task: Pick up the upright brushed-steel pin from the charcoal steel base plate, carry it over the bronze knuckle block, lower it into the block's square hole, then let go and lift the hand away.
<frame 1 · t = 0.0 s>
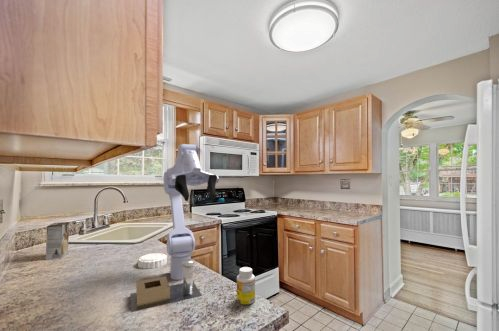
hand: (200, 198, 67), 32 cm above the countertop, tool tilted 50°, fingers open, 7 cm apart
steel pin: (187, 292, 76), point 1 cm above the countertop, touching clevis base
clevis base: (165, 297, 75), on the countertop
supplement bottle: (246, 304, 71), on the countertop
coffee box: (57, 257, 116), on the countertop
mooncake: (152, 264, 105), on the countertop
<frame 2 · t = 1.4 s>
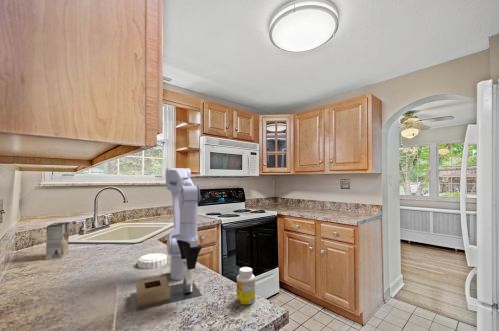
hand: (188, 264, 76), 10 cm above the countertop, tool pointing down, fingers open, 7 cm apart
steel pin: (187, 291, 76), point 1 cm above the countertop, tilted 15°, touching clevis base, gripper
everything else where it was.
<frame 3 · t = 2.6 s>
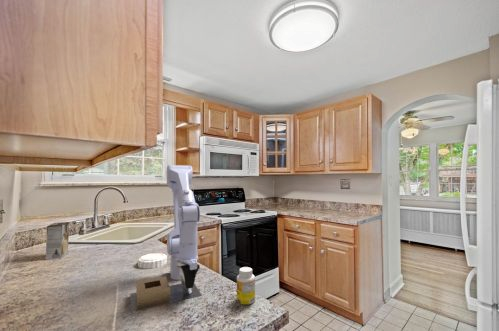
hand: (188, 285, 76), 3 cm above the countertop, tool pointing down, fingers closed on steel pin, 4 cm apart
steel pin: (187, 291, 76), point 1 cm above the countertop, tilted 10°, touching clevis base, gripper
everything else where it was.
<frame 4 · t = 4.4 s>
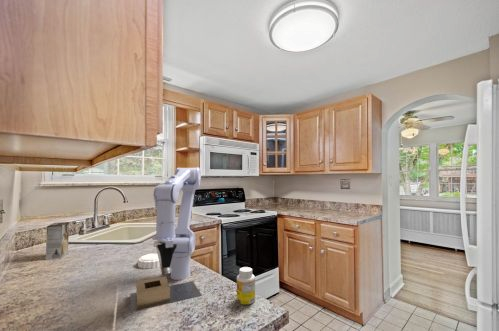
hand: (165, 265, 74), 10 cm above the countertop, tool pointing down, fingers closed on steel pin, 4 cm apart
steel pin: (166, 272, 74), point 8 cm above the countertop, tilted 12°, touching gripper
everything else where it was.
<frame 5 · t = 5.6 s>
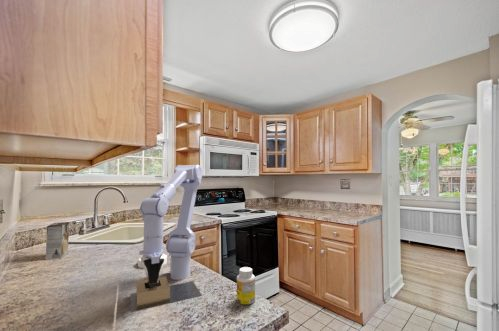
hand: (152, 280, 73), 6 cm above the countertop, tool pointing down, fingers closed on steel pin, 4 cm apart
steel pin: (154, 286, 73), point 4 cm above the countertop, tilted 13°, touching gripper
everything else where it was.
when the fingers open (6 cm above the countertop, at t = 6.1 s): steel pin drops 3 cm, resting on clevis base.
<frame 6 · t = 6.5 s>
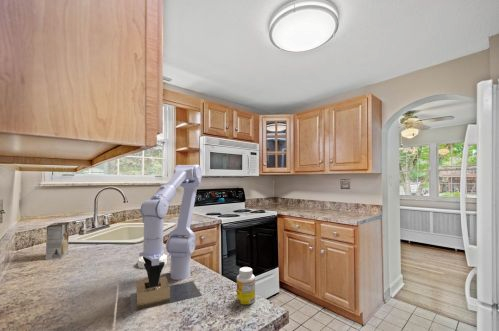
hand: (152, 281, 73), 6 cm above the countertop, tool pointing down, fingers open, 7 cm apart
steel pin: (154, 297, 73), point 1 cm above the countertop, touching clevis base
everything else where it was.
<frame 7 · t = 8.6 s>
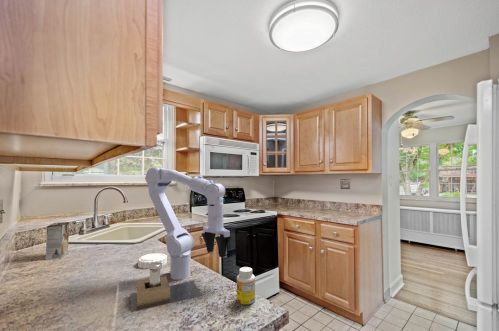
hand: (216, 254, 85), 10 cm above the countertop, tool pointing down, fingers open, 7 cm apart
nothing on the countertop moved.
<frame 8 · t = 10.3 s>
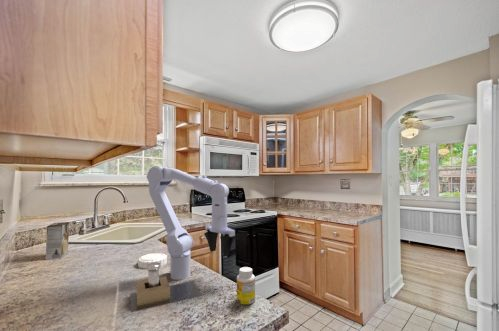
hand: (219, 253, 87), 10 cm above the countertop, tool pointing down, fingers open, 7 cm apart
nothing on the countertop moved.
at the end: steel pin 0.4 cm from the target spot on the clevis base, point 1.1 cm above the clevis base's base; steel pin tilted 3°; the gripper is holding nothing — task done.
